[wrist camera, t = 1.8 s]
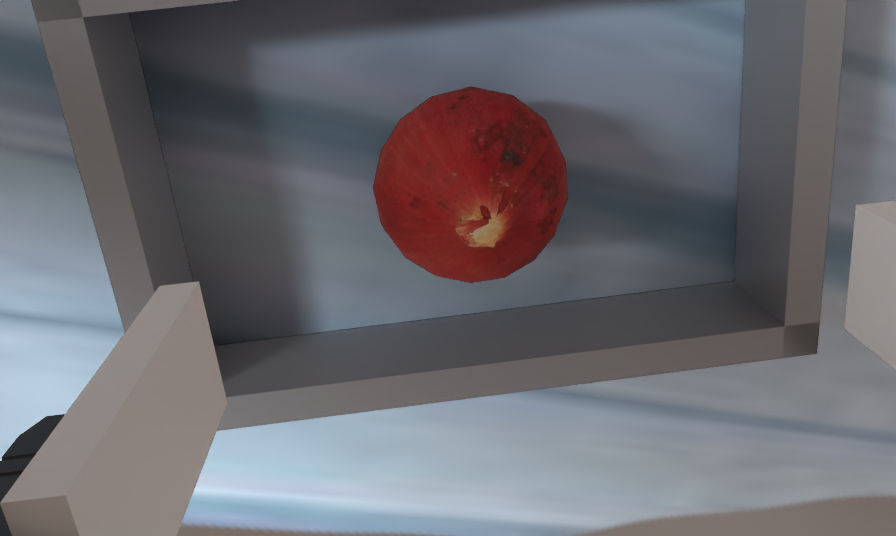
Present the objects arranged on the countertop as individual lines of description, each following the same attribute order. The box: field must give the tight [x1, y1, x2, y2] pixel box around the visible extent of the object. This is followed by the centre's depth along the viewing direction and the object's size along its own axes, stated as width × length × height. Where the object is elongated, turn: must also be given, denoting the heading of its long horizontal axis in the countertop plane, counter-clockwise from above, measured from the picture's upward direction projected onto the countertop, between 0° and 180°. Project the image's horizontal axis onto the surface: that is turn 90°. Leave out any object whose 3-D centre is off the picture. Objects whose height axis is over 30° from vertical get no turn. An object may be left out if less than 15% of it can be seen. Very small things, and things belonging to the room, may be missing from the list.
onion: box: [373, 87, 568, 283], centre depth 23 cm, size 6×6×8 cm
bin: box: [31, 0, 847, 431], centre depth 25 cm, size 22×14×4 cm, turn 96°
